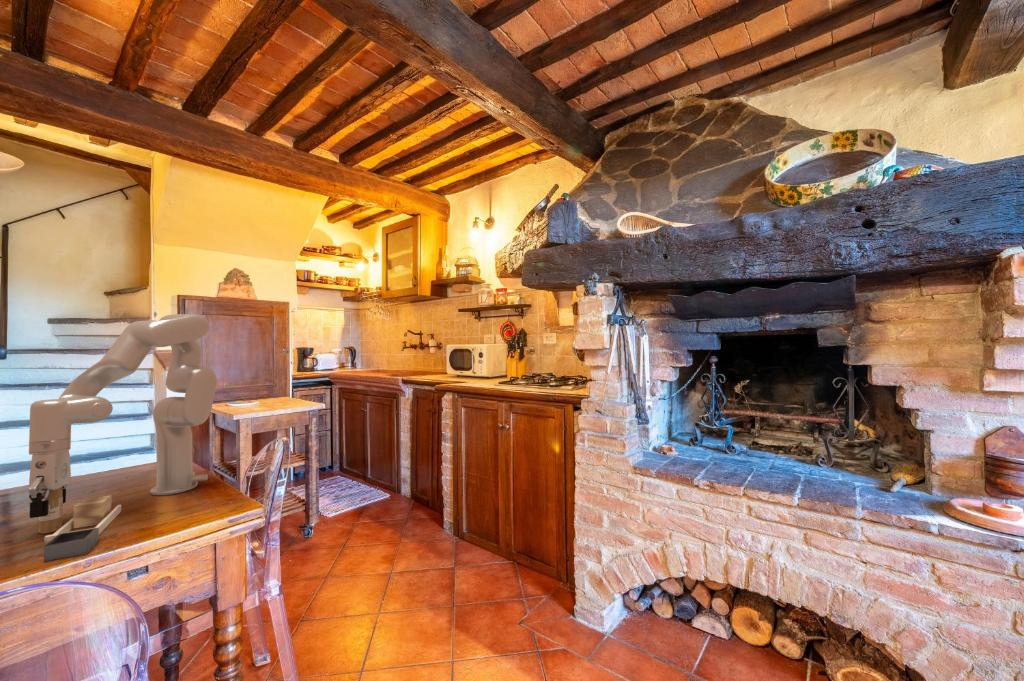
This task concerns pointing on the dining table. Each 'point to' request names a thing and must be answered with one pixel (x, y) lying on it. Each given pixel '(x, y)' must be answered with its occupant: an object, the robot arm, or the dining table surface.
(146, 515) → the dining table surface
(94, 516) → the cardboard box
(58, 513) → the sprinkles bottle
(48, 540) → the bay
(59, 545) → the winch socket
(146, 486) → the dining table surface
